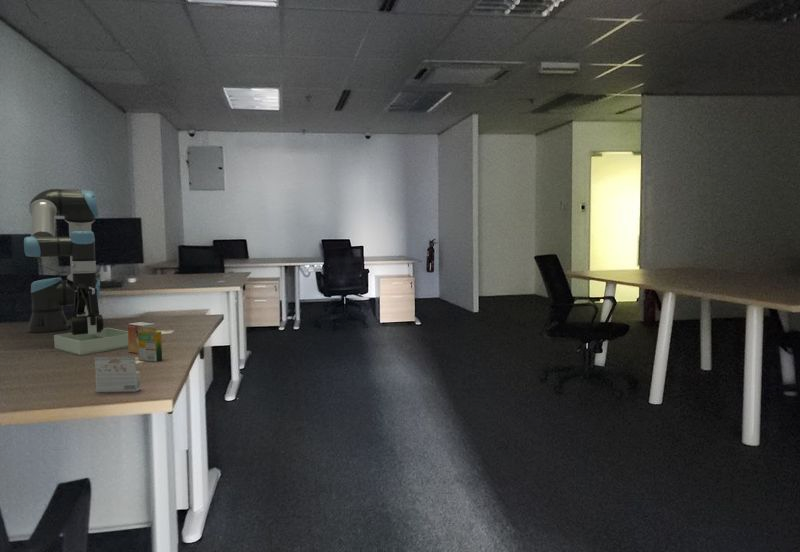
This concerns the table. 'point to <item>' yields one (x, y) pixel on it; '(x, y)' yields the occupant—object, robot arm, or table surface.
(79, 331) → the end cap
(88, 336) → the organizer tray
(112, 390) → the ink cartridge box
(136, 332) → the small box
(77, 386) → the table surface
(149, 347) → the crayon box
